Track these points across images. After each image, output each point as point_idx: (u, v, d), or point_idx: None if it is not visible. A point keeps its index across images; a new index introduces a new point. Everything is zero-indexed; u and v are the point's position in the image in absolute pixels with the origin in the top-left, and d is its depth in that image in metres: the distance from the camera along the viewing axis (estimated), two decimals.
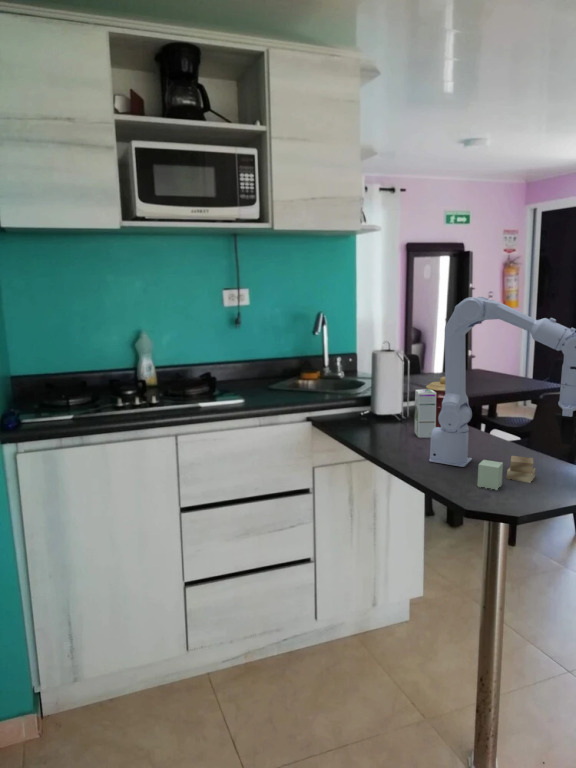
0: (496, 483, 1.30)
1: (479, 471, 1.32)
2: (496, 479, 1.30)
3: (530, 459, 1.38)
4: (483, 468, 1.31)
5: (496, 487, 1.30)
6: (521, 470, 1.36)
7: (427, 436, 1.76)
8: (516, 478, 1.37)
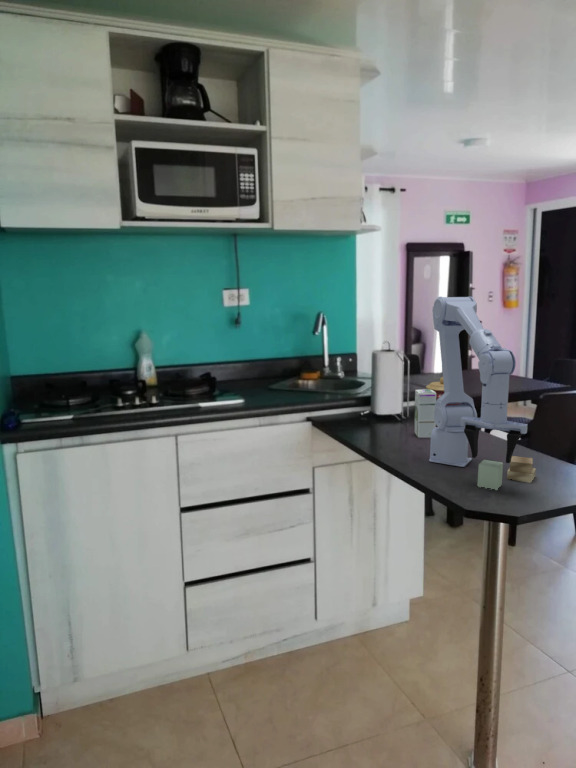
0: (496, 483, 1.30)
1: (479, 471, 1.32)
2: (496, 479, 1.30)
3: (529, 459, 1.38)
4: (483, 468, 1.31)
5: (496, 487, 1.30)
6: (521, 470, 1.36)
7: (427, 436, 1.76)
8: (516, 478, 1.37)
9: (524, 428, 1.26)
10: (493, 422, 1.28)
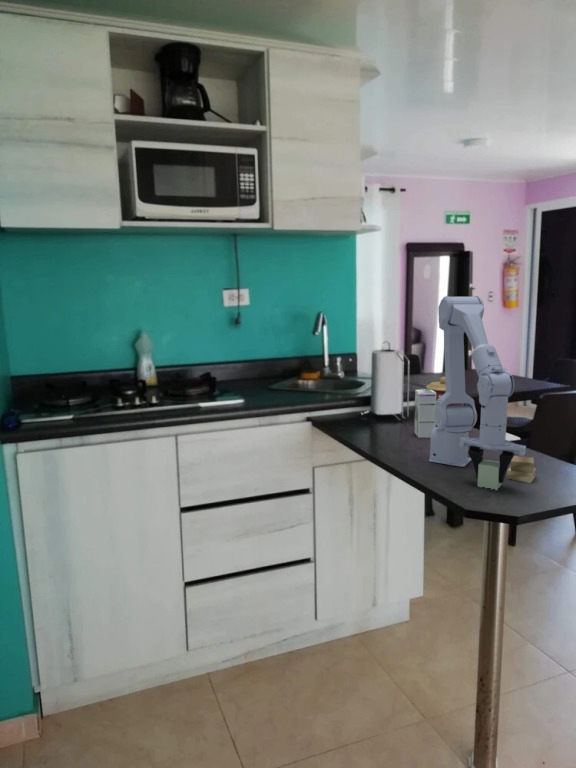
0: (496, 483, 1.30)
1: (479, 471, 1.32)
2: (496, 479, 1.30)
3: (530, 459, 1.38)
4: (483, 468, 1.31)
5: (496, 487, 1.30)
6: (522, 470, 1.36)
7: (427, 436, 1.76)
8: (516, 478, 1.37)
9: (522, 450, 1.27)
10: (492, 444, 1.29)
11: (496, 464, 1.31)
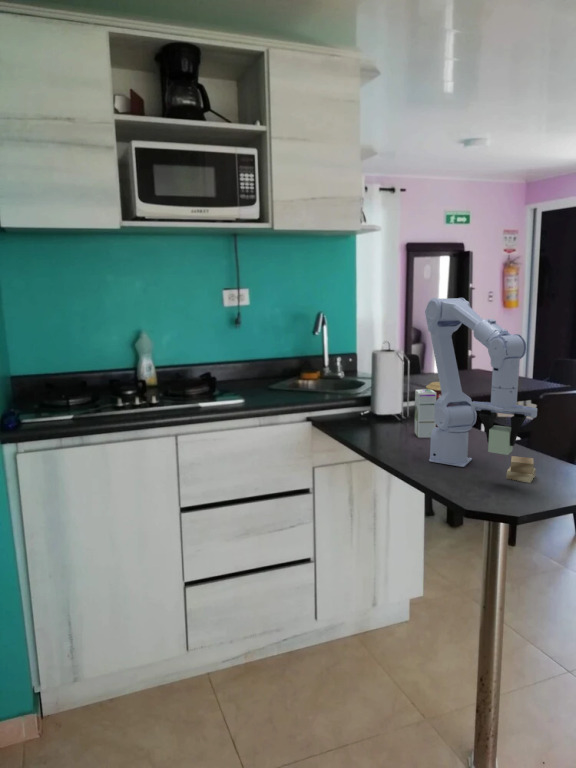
0: (507, 447, 1.30)
1: (490, 436, 1.32)
2: (507, 443, 1.30)
3: (530, 459, 1.38)
4: (494, 433, 1.31)
5: (507, 451, 1.30)
6: (521, 470, 1.36)
7: (427, 436, 1.76)
8: (516, 478, 1.37)
9: (534, 412, 1.27)
10: (503, 406, 1.29)
11: (507, 429, 1.31)
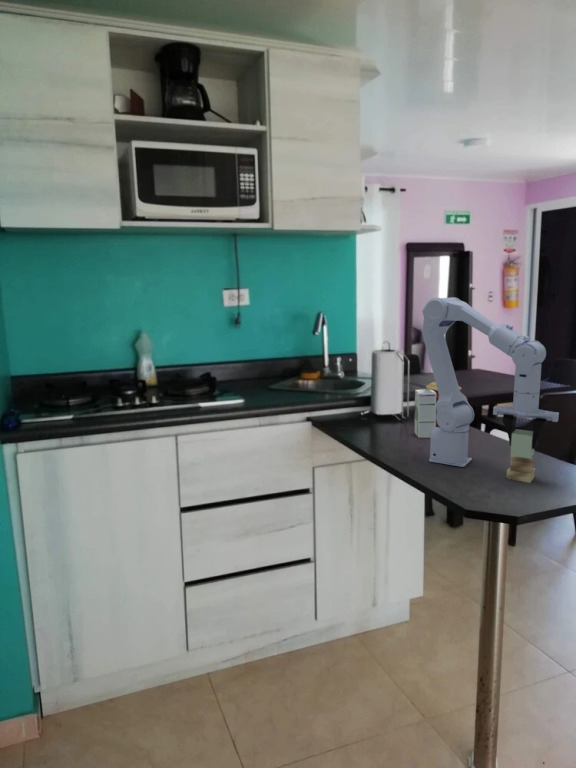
0: (529, 451, 1.34)
1: (512, 440, 1.36)
2: (529, 447, 1.34)
3: (529, 459, 1.38)
4: (517, 437, 1.35)
5: (529, 455, 1.34)
6: (521, 470, 1.36)
7: (427, 436, 1.76)
8: (516, 478, 1.37)
9: (556, 416, 1.31)
10: (526, 410, 1.33)
11: (529, 433, 1.35)
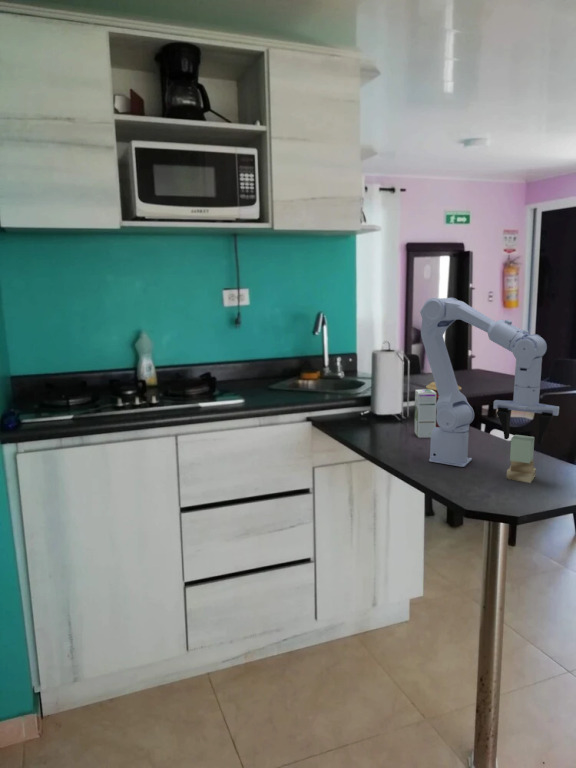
0: (528, 456, 1.35)
1: (512, 445, 1.37)
2: (528, 452, 1.35)
3: None
4: (516, 442, 1.36)
5: (528, 460, 1.35)
6: (522, 470, 1.36)
7: (427, 436, 1.76)
8: (516, 478, 1.37)
9: (556, 410, 1.31)
10: (526, 404, 1.33)
11: (528, 438, 1.36)
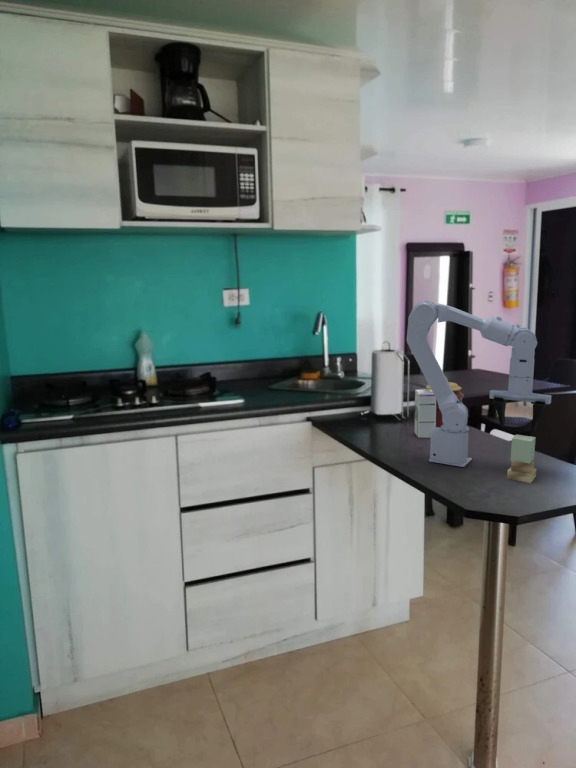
0: (529, 456, 1.35)
1: (512, 445, 1.37)
2: (529, 452, 1.35)
3: None
4: (517, 442, 1.36)
5: (529, 460, 1.35)
6: (522, 470, 1.36)
7: (427, 436, 1.76)
8: (516, 478, 1.37)
9: (548, 399, 1.39)
10: (520, 394, 1.41)
11: (529, 438, 1.36)
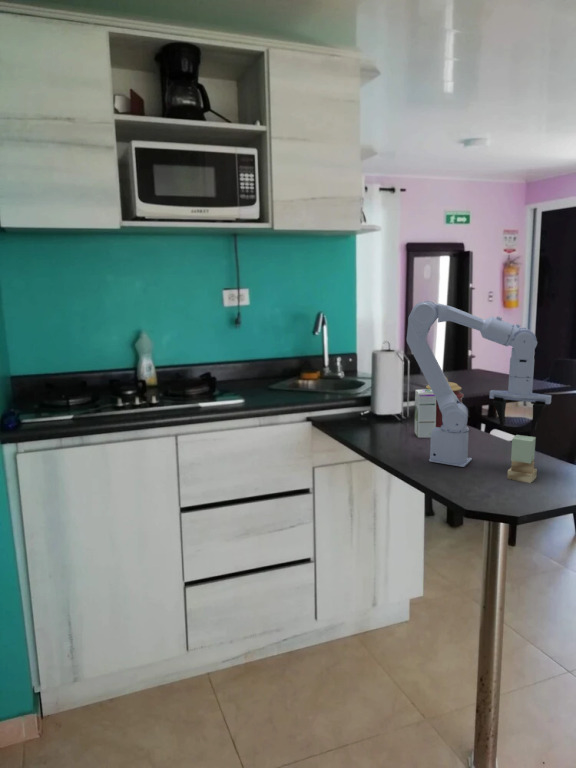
0: (530, 456, 1.35)
1: (513, 445, 1.37)
2: (530, 452, 1.35)
3: None
4: (517, 442, 1.36)
5: (530, 460, 1.35)
6: (522, 470, 1.36)
7: (427, 436, 1.76)
8: (516, 478, 1.37)
9: (548, 399, 1.39)
10: (520, 394, 1.41)
11: (529, 438, 1.36)
